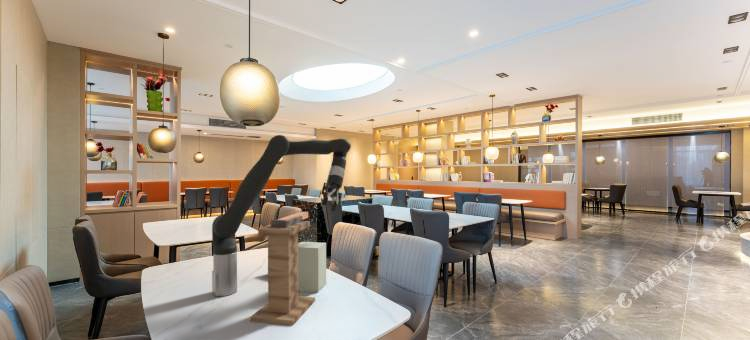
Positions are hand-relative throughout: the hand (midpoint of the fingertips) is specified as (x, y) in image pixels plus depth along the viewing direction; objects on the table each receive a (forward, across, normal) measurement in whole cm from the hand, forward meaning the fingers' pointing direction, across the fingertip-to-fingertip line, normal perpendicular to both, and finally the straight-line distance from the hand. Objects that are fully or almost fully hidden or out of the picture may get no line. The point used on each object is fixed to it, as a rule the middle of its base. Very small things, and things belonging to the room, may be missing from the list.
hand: (328, 208), depth 149 cm
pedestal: (+35, -7, -6) cm, 36 cm away
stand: (+45, +13, 0) cm, 47 cm away
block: (+13, +21, -1) cm, 25 cm away
